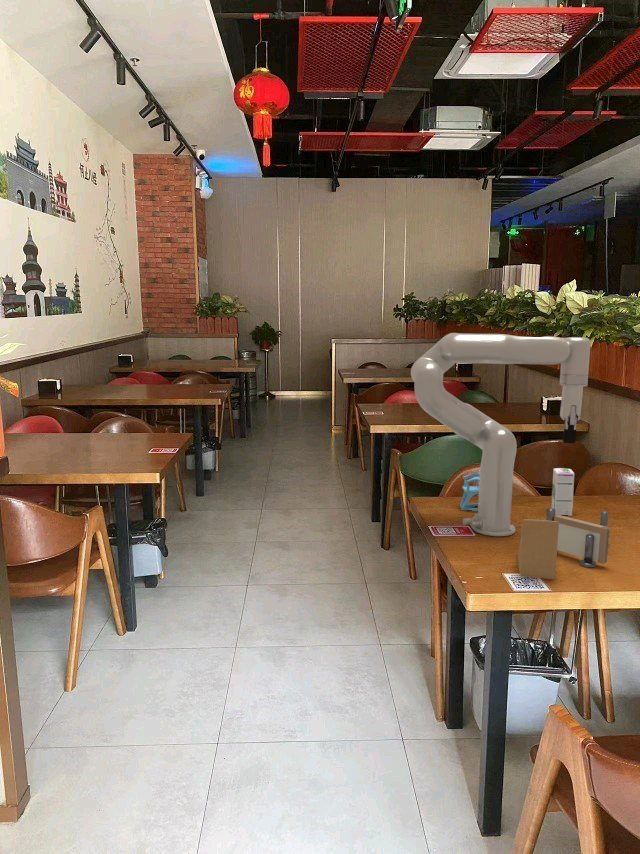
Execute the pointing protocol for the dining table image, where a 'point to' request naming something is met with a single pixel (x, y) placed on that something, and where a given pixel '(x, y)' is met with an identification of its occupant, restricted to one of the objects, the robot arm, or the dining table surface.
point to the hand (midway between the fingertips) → (569, 442)
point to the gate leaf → (582, 537)
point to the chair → (470, 492)
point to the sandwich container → (538, 548)
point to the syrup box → (562, 491)
